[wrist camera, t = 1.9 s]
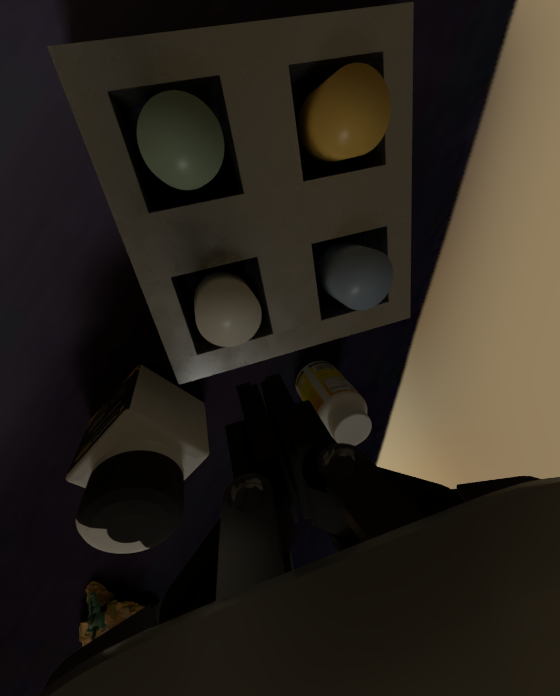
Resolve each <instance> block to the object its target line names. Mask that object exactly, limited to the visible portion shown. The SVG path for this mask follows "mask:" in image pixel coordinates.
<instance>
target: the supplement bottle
mask: <svg viewBox="0 0 560 696" xmlns="http://www.w3.org/2000/svg"><path fill="white" fill-rule="evenodd" d="M296 389H297V392H298V394H299V396H300V397H301V399H302V401H306V400H309V401H310V402H311V404H312V405H313V407H314V408H315V410H316V412H317V413H318V415H319V417H320V418H321V420H322V421H323V423H324V425H325V426H326V428H327V430H328V431H329V433H330V435H331V436H332V438H334V439H335V440H336V442H337V443H346V444H351V445H353V446H354V445H357V444H359V443H361V442H362V441H363V440H365V439H366V437H367V436H368V435H369V433H370V431H371V427H372V423H371V420H370V418H369V417H368V416H367V405H366V402H365V400H364V399H363V398H362V396H361V395H360V394H359V393H358V392H357V391H356V390H355V389H354V388H353V386H352V385H351V384H350V383H349V382H348V381H347V380H346V379H345V378H344V377H343V375H342V374H341V373H340V372H339V371H338V370H337V369H336V368H335V367H334V366H333V365H332V364H330V363H329V362H326V361H315V362H312V363H310V364H308V365H306V366H305V367H304V368H303V369H302V370H301V371H300V372H299V374H298V376H297V379H296Z"/></svg>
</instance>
